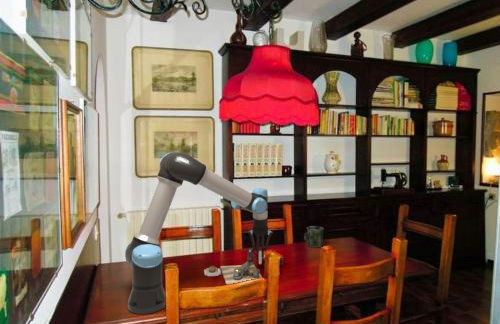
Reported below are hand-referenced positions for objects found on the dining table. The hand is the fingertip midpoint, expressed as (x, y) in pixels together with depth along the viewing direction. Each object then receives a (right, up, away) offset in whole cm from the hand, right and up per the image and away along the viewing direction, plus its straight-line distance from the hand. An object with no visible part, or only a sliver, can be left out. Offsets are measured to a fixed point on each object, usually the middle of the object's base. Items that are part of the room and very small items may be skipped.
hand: (260, 263), depth 181 cm
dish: (-24, -4, -6) cm, 25 cm away
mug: (+36, -3, +47) cm, 60 cm away
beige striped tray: (-10, -5, -7) cm, 13 cm away
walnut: (-5, -3, -11) cm, 12 cm away
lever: (-8, -3, -8) cm, 11 cm away
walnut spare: (-24, -3, -6) cm, 25 cm away
